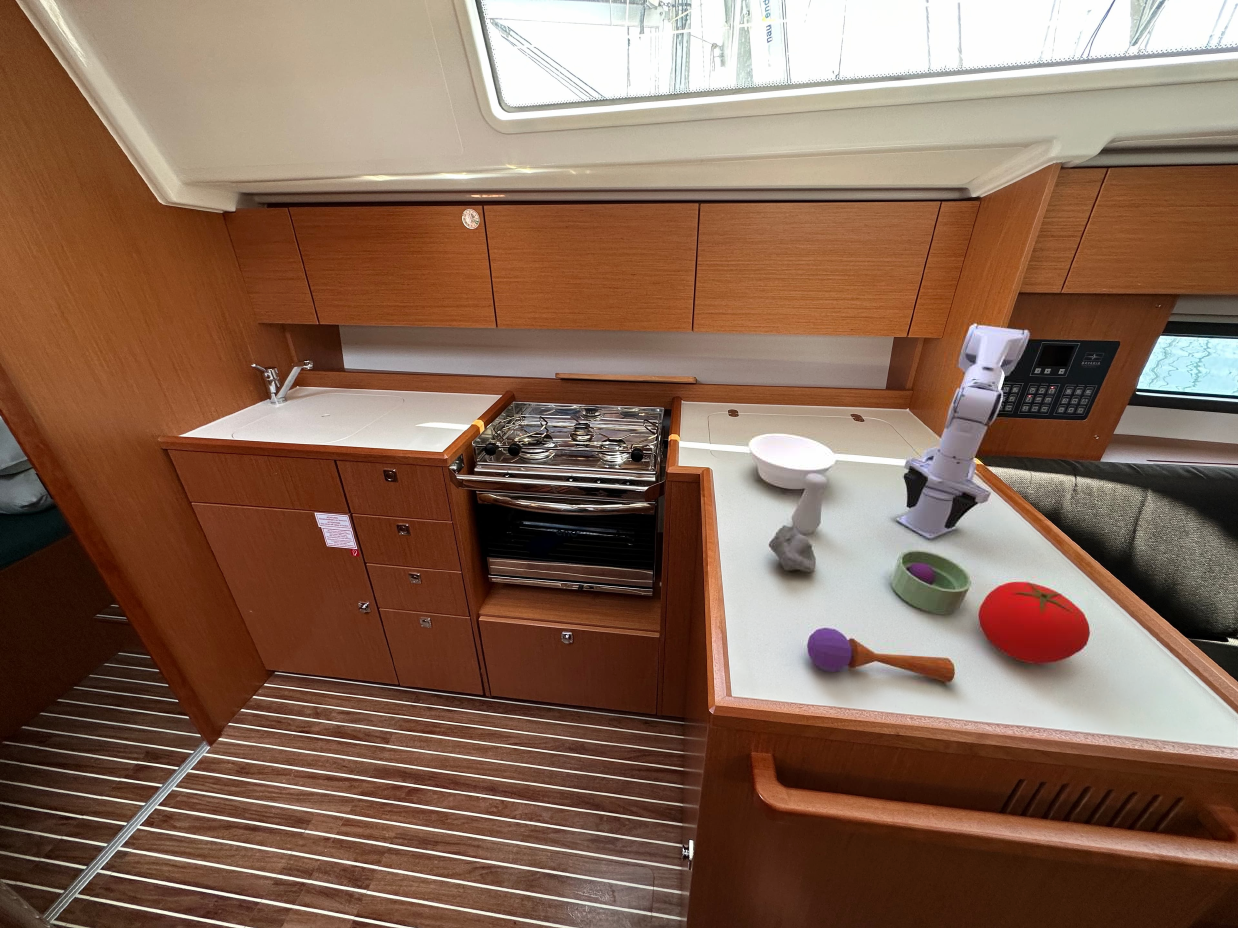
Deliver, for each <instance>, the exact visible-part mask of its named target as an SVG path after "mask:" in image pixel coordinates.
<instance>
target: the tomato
mask: <svg viewBox="0 0 1238 928" xmlns="http://www.w3.org/2000/svg"><path fill="white" fill-rule="evenodd" d="M978 621H979V622H978V623H979V627H980V629H981V631H982V634H983V635H984V637H985V638H986V639H987V640H988V641H989V642H990V644H992V645H993V646H994V647H996V648H997V649H998V650H999V651H1000V652H1002V653H1004V654H1005V655H1006V656H1009V657H1011V658H1014V659H1016V660H1019V661H1022V662H1026V663H1031V664H1036V665H1037V664H1039V665H1041V664H1043V665H1044V664H1048V663H1049V664H1051V663H1057V662H1060V661H1064V660H1066V659H1068V658H1070V657H1073V656H1074V655H1075V654H1078V653H1080V652H1081V651H1082V650H1083V649H1084V648H1085V647H1086V646H1087V644H1088V642H1089V638H1090V634H1091V631H1090V624H1089V621H1088V619H1087V617H1086V615H1085V613H1084V612H1083V611H1082V610H1081V608H1079V607H1078V606H1077V605H1076V604H1075V603H1073V601H1071V600H1070V599H1069V598H1067V597H1066V596H1064V595H1063V593H1061V592H1058V591H1056V590H1054V589H1051V588H1049V587H1046V586H1044V585H1040V584H1037V583H1033V582H1030V581H1009V582H1006V583H1003V584H1001V585H1000V584H999V585H998V586H997V587H994V589H992V590H991V591H990V592H989V593H988V594H987V595H986V596H985V598H984V599H983V601H982V603H981V604H980V606H979V610H978Z"/></svg>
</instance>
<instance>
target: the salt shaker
mask: <svg viewBox="0 0 1238 928" xmlns="http://www.w3.org/2000/svg"><path fill="white" fill-rule="evenodd" d="M804 483H805V486H806V488H804V491H803V493H802V496H801V497H800V499H799V501H798V503H797V505H796V507H795V509H794V511H793V513H792V515H791V521H792V527H794V528H795V529H796V530H797V531H799V532H800V533H801V534H802V535H811V534H812V533H814V532H815V531H816V530H817V529H818V528H819V527H820V525H821V523H822V522H821V521H822V505H823V504H822V503H823V491H824V490H825V489H826V488H827V487H828V479H827V477H826V476H824V475H820V474H813V473H812V474H809V475H807V476H806V478H805V481H804Z"/></svg>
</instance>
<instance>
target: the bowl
mask: <svg viewBox="0 0 1238 928" xmlns="http://www.w3.org/2000/svg"><path fill="white" fill-rule="evenodd" d="M748 448H749V449H748V450H749V452H750V457H751V459H752V461H753V463H754V464H755V465H757V471H758V475H759V476H760V478H761V479H762V480H763V481H765V482H766V483H768V484H771V485H773V486H776V487H778V488H783V489H789V490H803V489H804V490H805V489H806V486H805V483H804V481H805V478H806V476H807V475H809V474H812V473H813V474H820V475H822V476H824V475H825V474H827V472H828V471H829V470H830V469H831V468H832V467H833V465H834V464H836V461H837V458H836V455H835V453H834V452H833V451H832V450H831V449H830V448H829V447H827V446H825V445H824V444H822V443H820V442H818V441H815V440H812V439H810V438H807V437H804V436H799V435H793V434H786V433H767V434H761V435H758V436H755V437H754V438H752V439H751V440H750V441H749V442H748Z"/></svg>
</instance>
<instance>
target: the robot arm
mask: <svg viewBox="0 0 1238 928" xmlns="http://www.w3.org/2000/svg"><path fill="white" fill-rule="evenodd" d="M1030 335H1031V334H1030V331H1029V330H1028V329H1023V330H1022V329H1014V328H1007V327H998V326H989V325H981V324H977V323H973V324H972V325H970V326H969V328H968V331H967V333H966V337H965V338H964V342H963V345H962V348H961V350H960V355H959V358H958V360H957V362H958V365H957V367H958V368H959V369H960V370H961V371H962V372H964V376H963V379H962V381H961V384H960V387H958V388H957V389H956V391H955V393H954V396H953V399H952V401H951V403H950V407H949V409H948V413H947V419H946V421H945V425H944V429H943V432H942V434H941V437H940V440H939V442H938V444H937V446H934V447H930V448H927V449H926V450H925V451H924V452H923V454H922V455H921V458H920V459H918V458H916V457H910V458H907V459H906V460H905V463H904V466H903V469H905V470H907V472H904V473H903V476H902V478H903V480H904V483H905V487H906V508H908V510H907V513H906V514H905V515H902V516H899V517H896V519H895V521H897V522H898V523H900V524H902V525H903V526H905V527H906V528H909V529H910V530H912V531H913V532H916V533H917V534H919V535H921V536H922V537H924V538H926V539H928V540H931V539H934V538H936V537H939V536H942V535H944V534H946V533H950V532H951V531H955V530H956V525H957V524H958V522H959V521H960V520H961V519H962V518H963V517H964V515H966V514H967V513H968V512H969V511H970V510H972V509H973V508H974V507H976V506H977V505H979V504H980V505H981V504H984V503H986V502H988V501H989V498H990V497H991V494H992V492H991V491H990V490H988V489H986V488H983V487H982V486H981V485H979V484H977V483H975V482H974V477H975V473H976V469H977V462H976V460H975V457H976V454H977V453H978V450H979V447H980V445H981V443H982V441H983V438H984V436H985V434H986V431H987V429H988V427H990V426H991V425H992V424H993V422H994V421H995V419H996V418H997V416H998V413H999V411H1000V408H1001V405H1002V402H1003V396H1004V392H1003V390H1002V387H1003V383H1004V379H1005V377H1007V376H1010V374H1011V372H1012V371H1014V369H1015V367H1017V363H1018V362H1019V361H1020V359H1021V357H1022V356H1023V354H1024V351H1025V349H1026V347H1027V344H1028V341H1029V338H1030ZM987 422H988V423H987Z"/></svg>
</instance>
